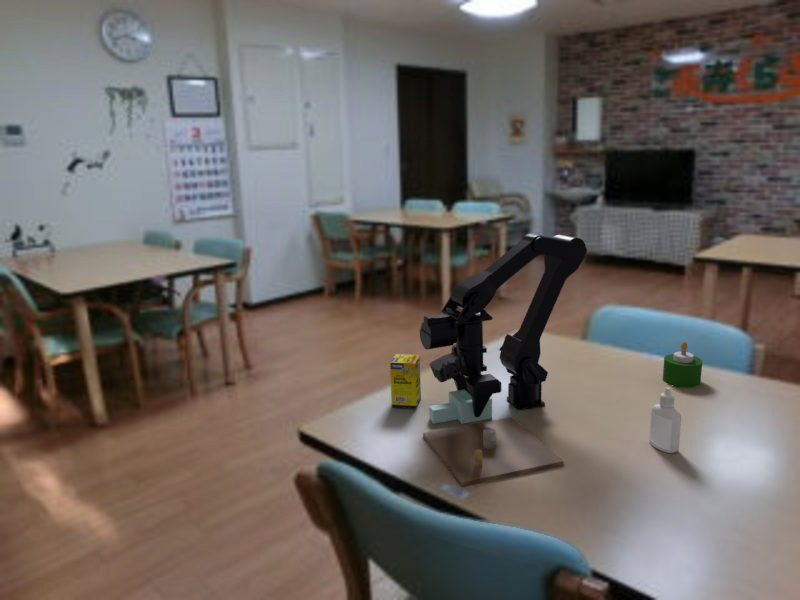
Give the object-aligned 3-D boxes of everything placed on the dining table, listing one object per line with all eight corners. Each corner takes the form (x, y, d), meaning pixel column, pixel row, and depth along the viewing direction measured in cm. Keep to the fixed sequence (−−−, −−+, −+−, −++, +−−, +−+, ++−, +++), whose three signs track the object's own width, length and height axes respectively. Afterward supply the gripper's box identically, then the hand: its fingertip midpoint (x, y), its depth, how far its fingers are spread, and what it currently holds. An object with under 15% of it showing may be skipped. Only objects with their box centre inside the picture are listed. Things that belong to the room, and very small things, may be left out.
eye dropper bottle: (656, 454, 114) (660, 394, 111) (647, 440, 120) (651, 382, 117) (680, 454, 114) (685, 394, 111) (670, 440, 119) (674, 382, 116)
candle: (702, 378, 149) (706, 339, 146) (697, 390, 142) (701, 349, 139) (665, 372, 153) (668, 334, 150) (659, 384, 146) (662, 344, 144)
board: (512, 420, 130) (512, 402, 129) (563, 465, 112) (564, 445, 111) (423, 436, 125) (422, 418, 124) (461, 486, 106) (461, 465, 105)
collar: (478, 405, 138) (478, 387, 137) (491, 418, 132) (491, 398, 131) (426, 414, 135) (425, 395, 134) (437, 428, 128) (436, 408, 127)
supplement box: (417, 409, 138) (415, 363, 135) (391, 408, 139) (389, 362, 136) (421, 398, 143) (420, 354, 141) (396, 397, 145) (394, 353, 142)
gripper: (418, 334, 136) (421, 399, 140) (450, 361, 119) (452, 434, 123) (465, 328, 139) (466, 392, 143) (502, 353, 122) (502, 425, 126)
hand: (470, 410), depth 134 cm, fingers closed on collar, 7 cm apart
